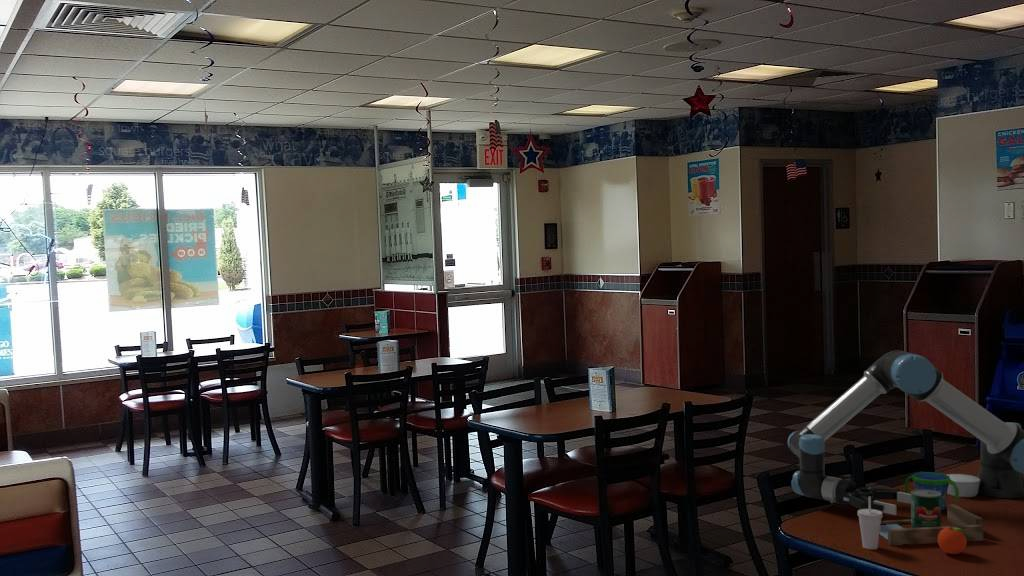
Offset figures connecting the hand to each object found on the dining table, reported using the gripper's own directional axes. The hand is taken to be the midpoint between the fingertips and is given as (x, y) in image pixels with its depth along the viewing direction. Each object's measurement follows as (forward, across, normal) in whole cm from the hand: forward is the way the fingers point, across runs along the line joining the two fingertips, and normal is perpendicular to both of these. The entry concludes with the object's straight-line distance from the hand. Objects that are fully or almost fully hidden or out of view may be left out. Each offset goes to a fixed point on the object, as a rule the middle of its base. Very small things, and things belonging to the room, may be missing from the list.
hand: (907, 505), depth 259 cm
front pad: (0, +8, -6) cm, 10 cm away
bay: (+5, +2, -6) cm, 8 cm away
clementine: (+19, +13, -7) cm, 24 cm away
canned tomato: (+5, 0, -7) cm, 8 cm away
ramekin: (-5, -45, -7) cm, 46 cm away
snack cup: (-4, -23, -7) cm, 24 cm away
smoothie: (+2, +24, -6) cm, 25 cm away
